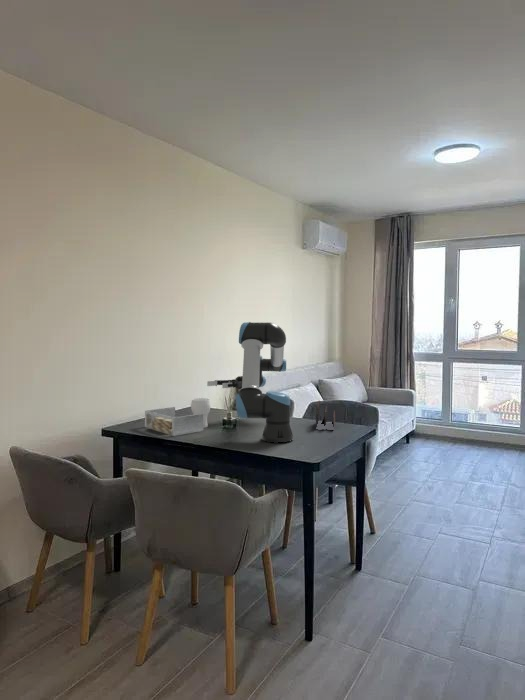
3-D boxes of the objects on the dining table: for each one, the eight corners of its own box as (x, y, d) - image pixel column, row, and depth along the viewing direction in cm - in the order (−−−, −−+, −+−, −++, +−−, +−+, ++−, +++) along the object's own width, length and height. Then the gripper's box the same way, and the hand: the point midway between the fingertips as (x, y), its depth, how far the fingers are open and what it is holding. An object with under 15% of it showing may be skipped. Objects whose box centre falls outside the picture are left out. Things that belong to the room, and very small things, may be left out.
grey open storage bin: (203, 433, 259) (203, 413, 259) (173, 438, 247) (173, 418, 246) (173, 424, 279) (173, 406, 279) (144, 429, 267) (144, 410, 266)
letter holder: (315, 430, 270) (315, 404, 269) (317, 423, 289) (318, 398, 288) (334, 431, 268) (334, 405, 267) (335, 423, 287) (335, 399, 287)
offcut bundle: (176, 432, 254) (176, 421, 253) (170, 433, 251) (170, 422, 251) (157, 427, 267) (157, 416, 266) (152, 428, 264) (152, 416, 264)
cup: (207, 429, 269) (207, 401, 268) (188, 428, 271) (188, 400, 270) (212, 425, 279) (213, 398, 279) (194, 424, 282) (194, 397, 281)
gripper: (257, 390, 287) (229, 393, 272) (230, 386, 305) (201, 389, 290) (258, 377, 287) (229, 379, 272) (230, 374, 305) (201, 376, 290)
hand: (215, 384), depth 281 cm, fingers open, 13 cm apart
